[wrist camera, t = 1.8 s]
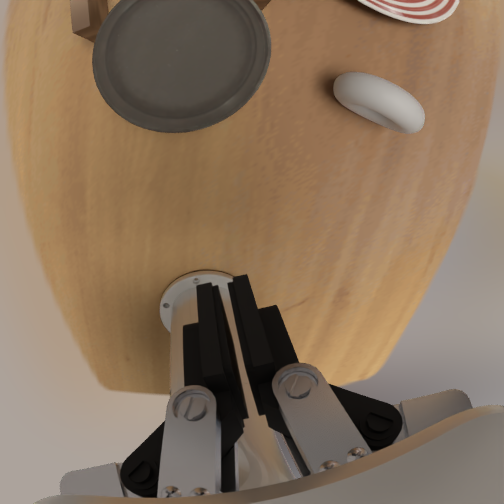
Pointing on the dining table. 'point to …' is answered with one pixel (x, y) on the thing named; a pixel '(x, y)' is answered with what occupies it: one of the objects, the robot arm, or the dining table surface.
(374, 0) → the dinner plate
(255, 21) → the coffee can
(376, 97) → the donut
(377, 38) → the dining table surface
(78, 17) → the frame
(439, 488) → the robot arm
